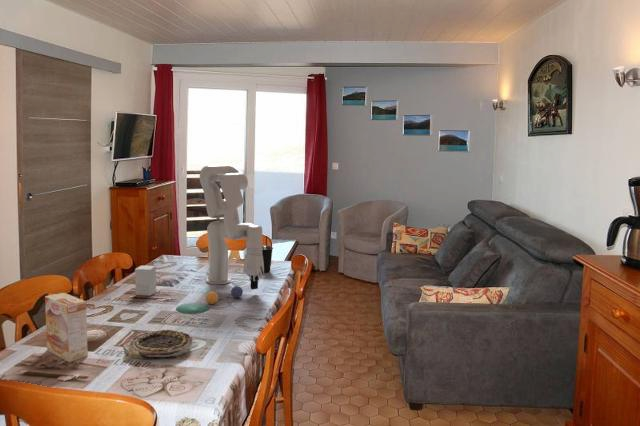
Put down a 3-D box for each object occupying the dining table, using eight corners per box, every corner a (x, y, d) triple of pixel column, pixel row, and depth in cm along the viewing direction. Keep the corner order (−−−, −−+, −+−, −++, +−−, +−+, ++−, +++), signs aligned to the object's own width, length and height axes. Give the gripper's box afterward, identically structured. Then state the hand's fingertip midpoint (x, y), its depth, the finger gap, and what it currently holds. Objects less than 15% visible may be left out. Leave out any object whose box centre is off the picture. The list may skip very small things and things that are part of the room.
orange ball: (203, 303, 247) (203, 291, 246) (213, 301, 251) (213, 289, 250) (210, 306, 243) (210, 294, 242) (220, 303, 247) (220, 292, 246)
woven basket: (172, 331, 213) (172, 319, 212) (218, 352, 196) (218, 338, 195) (104, 352, 191) (104, 339, 190) (149, 377, 174) (149, 362, 173)
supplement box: (156, 291, 262) (156, 265, 261) (150, 296, 255) (149, 269, 253) (141, 290, 263) (141, 265, 261) (135, 295, 256) (134, 268, 254)
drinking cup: (266, 274, 301) (266, 238, 298) (255, 271, 305) (256, 236, 302) (275, 271, 307) (276, 236, 304) (265, 269, 311) (265, 234, 309)
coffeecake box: (46, 350, 190) (43, 296, 187) (66, 344, 196) (64, 291, 193) (68, 362, 181) (66, 305, 178) (88, 356, 186) (87, 300, 184)
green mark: (170, 307, 239) (170, 307, 239) (197, 301, 249) (197, 301, 249) (188, 315, 230) (188, 315, 230) (215, 308, 240) (215, 308, 240)
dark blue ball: (228, 297, 257) (228, 286, 256) (237, 295, 261) (237, 284, 260) (235, 300, 253) (235, 288, 252) (245, 297, 257) (245, 286, 256)
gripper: (238, 249, 263) (238, 287, 266) (258, 254, 253) (258, 293, 255) (250, 247, 269) (250, 284, 271) (270, 252, 259) (270, 290, 261)
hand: (254, 288), depth 263 cm, fingers closed
